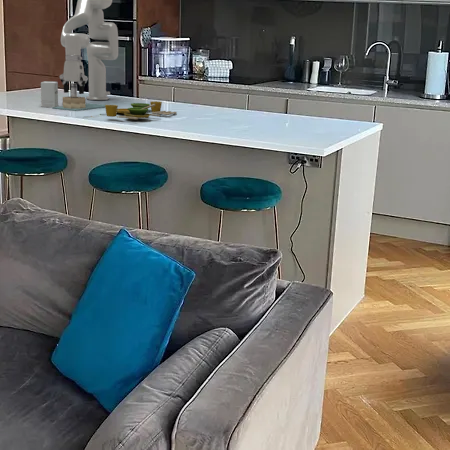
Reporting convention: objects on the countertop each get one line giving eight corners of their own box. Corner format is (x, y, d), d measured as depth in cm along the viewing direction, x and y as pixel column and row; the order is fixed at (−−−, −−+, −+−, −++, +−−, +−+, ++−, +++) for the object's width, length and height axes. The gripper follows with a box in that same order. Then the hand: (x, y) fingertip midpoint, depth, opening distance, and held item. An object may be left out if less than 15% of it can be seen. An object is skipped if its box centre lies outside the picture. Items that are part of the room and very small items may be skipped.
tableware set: (136, 120, 342) (136, 106, 341) (88, 115, 354) (87, 102, 353) (180, 113, 378) (180, 100, 377) (135, 108, 390) (135, 96, 388)
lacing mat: (88, 104, 398) (88, 103, 398) (111, 106, 392) (111, 105, 392) (52, 108, 372) (52, 107, 372) (76, 110, 366) (76, 109, 366)
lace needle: (73, 106, 378) (73, 83, 375) (78, 107, 377) (78, 83, 374) (69, 107, 375) (69, 83, 372) (74, 107, 374) (74, 84, 371)
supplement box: (55, 107, 378) (54, 82, 375) (40, 107, 378) (40, 82, 375) (58, 106, 385) (58, 81, 382) (44, 105, 385) (43, 81, 382)
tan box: (72, 105, 383) (72, 96, 382) (89, 107, 378) (89, 97, 377) (58, 107, 373) (58, 97, 372) (75, 109, 369) (75, 99, 367)
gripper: (91, 59, 369) (92, 93, 374) (64, 57, 377) (65, 91, 381) (82, 59, 363) (82, 94, 367) (54, 58, 370) (55, 92, 375)
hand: (73, 93), depth 374 cm, fingers open, 9 cm apart
